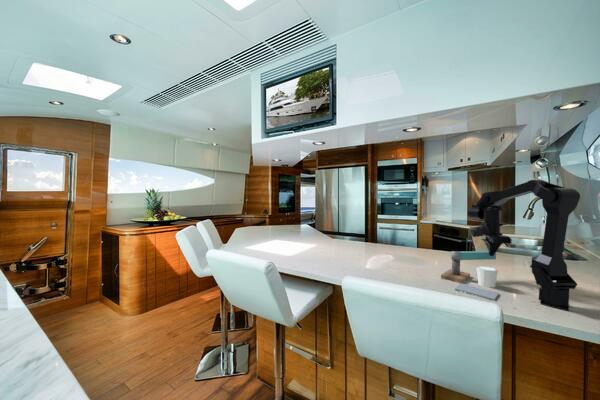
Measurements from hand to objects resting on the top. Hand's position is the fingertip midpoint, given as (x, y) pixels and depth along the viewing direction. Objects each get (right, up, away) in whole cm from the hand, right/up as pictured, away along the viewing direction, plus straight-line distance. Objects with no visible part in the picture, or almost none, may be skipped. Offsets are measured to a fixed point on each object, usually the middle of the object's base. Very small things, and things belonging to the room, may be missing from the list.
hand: (491, 255), depth 103 cm
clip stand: (-15, -10, +1) cm, 18 cm away
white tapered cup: (-8, -11, -7) cm, 15 cm away
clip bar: (-7, -2, +2) cm, 7 cm away
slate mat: (-17, -11, -14) cm, 25 cm away
